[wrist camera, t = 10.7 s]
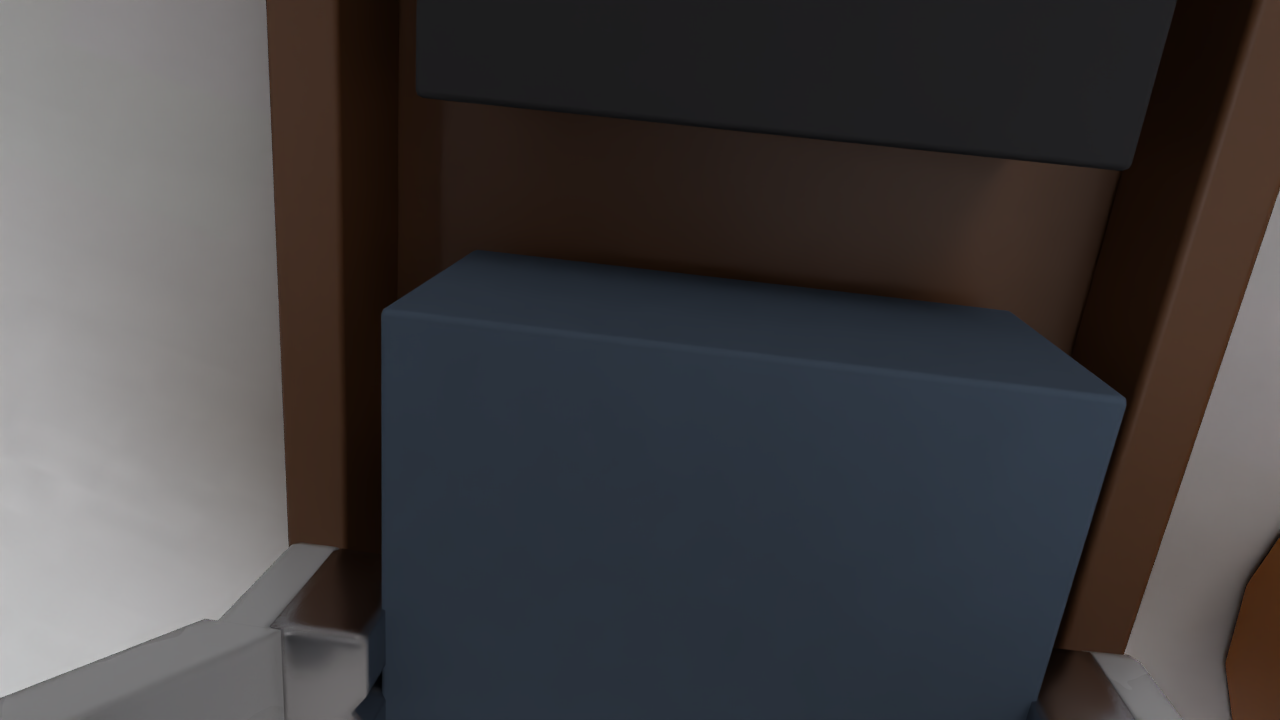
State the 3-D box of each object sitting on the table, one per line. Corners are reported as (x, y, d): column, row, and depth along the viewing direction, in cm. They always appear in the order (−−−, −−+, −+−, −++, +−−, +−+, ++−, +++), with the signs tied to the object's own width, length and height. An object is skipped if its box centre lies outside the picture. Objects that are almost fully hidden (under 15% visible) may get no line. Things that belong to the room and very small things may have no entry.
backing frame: (348, -897, 8) (210, -1271, 6) (1459, -857, 8) (1771, -1257, 5) (365, 792, 15) (302, 916, 13) (956, 883, 14) (1000, 1030, 12)
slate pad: (474, 248, 10) (378, 309, 7) (1011, 310, 10) (1131, 399, 7) (455, 764, 13) (379, 957, 10) (883, 827, 12) (933, 1049, 9)
